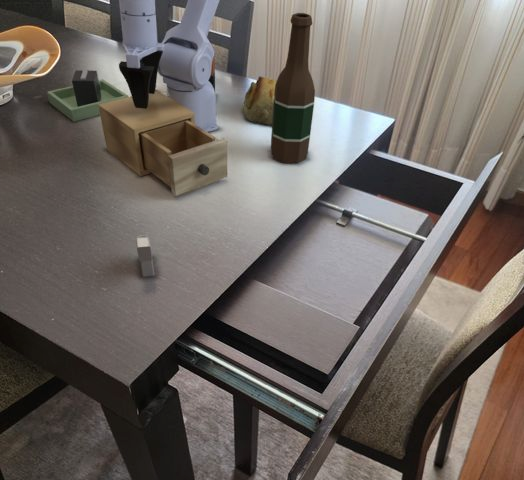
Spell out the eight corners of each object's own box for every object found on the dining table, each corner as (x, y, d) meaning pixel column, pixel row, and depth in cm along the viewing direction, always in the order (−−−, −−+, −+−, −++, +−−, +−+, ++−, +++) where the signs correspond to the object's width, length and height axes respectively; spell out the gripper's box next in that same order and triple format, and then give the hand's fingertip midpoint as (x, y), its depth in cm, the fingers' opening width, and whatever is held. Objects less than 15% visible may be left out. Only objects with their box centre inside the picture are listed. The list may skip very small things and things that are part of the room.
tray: (105, 90, 115) (103, 79, 113) (130, 107, 109) (128, 95, 107) (49, 103, 109) (46, 91, 107) (73, 121, 103) (71, 110, 101)
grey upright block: (140, 259, 73) (133, 213, 67) (152, 258, 74) (145, 212, 68) (144, 290, 69) (136, 243, 63) (156, 289, 69) (149, 242, 63)
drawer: (231, 179, 89) (231, 143, 84) (179, 199, 83) (176, 161, 78) (191, 152, 95) (189, 116, 90) (140, 169, 90) (135, 132, 84)
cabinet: (196, 157, 95) (194, 112, 89) (140, 176, 90) (133, 129, 83) (161, 133, 101) (156, 89, 95) (106, 149, 96) (97, 104, 89)
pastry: (230, 109, 111) (230, 70, 105) (276, 100, 116) (279, 63, 110) (262, 134, 104) (264, 94, 98) (310, 124, 108) (314, 85, 102)
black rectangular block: (81, 96, 110) (75, 68, 106) (101, 96, 111) (96, 68, 106) (77, 107, 106) (71, 79, 102) (99, 107, 107) (93, 79, 102)
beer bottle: (312, 150, 100) (330, 12, 82) (301, 167, 95) (318, 24, 77) (276, 143, 101) (286, 5, 83) (264, 159, 96) (272, 17, 78)
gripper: (154, 25, 75) (160, 116, 85) (169, 5, 85) (172, 89, 95) (108, 20, 75) (119, 113, 84) (128, 1, 85) (136, 85, 94)
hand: (145, 100), depth 89 cm, fingers open, 7 cm apart
